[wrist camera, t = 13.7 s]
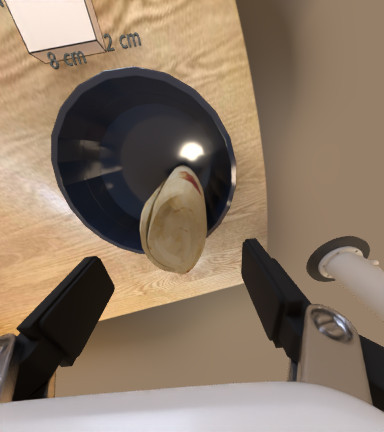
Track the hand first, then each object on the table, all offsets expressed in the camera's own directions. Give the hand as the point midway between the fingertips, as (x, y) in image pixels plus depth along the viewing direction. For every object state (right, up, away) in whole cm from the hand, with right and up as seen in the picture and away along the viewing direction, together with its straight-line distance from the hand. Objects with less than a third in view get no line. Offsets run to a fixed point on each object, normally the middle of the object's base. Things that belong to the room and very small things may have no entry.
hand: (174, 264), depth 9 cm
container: (-17, +30, +10) cm, 36 cm away
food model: (-1, +10, +20) cm, 22 cm away
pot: (-5, +12, +19) cm, 23 cm away
